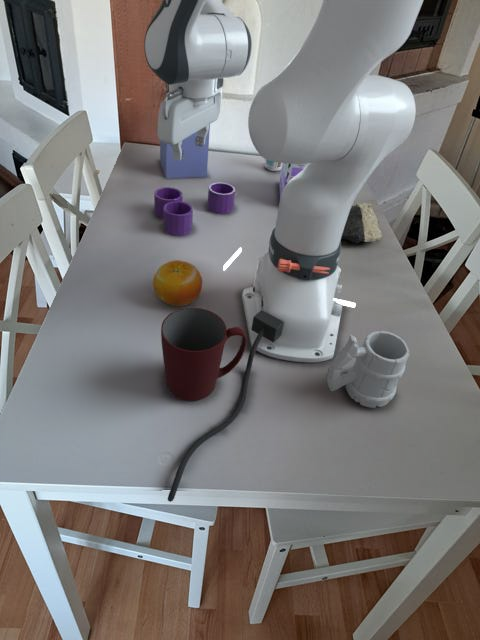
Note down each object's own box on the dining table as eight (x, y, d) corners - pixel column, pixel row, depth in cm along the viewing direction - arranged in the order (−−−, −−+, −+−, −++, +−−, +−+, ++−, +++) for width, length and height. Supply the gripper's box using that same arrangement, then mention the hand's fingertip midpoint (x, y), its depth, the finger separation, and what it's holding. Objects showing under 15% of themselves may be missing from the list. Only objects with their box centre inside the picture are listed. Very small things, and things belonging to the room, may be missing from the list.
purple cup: (179, 222, 106) (179, 201, 102) (152, 218, 106) (151, 198, 102) (184, 208, 110) (184, 189, 107) (157, 205, 110) (157, 185, 107)
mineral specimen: (393, 224, 103) (332, 222, 98) (380, 252, 107) (321, 251, 103) (368, 195, 111) (310, 192, 107) (357, 222, 116) (302, 220, 112)
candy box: (304, 210, 116) (318, 144, 105) (280, 208, 116) (292, 141, 105) (299, 185, 127) (312, 123, 116) (278, 183, 126) (288, 120, 115)
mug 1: (234, 357, 76) (242, 305, 69) (245, 400, 69) (255, 348, 62) (159, 362, 73) (158, 308, 66) (163, 408, 67) (163, 354, 60)
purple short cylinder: (232, 215, 110) (234, 196, 107) (205, 212, 110) (207, 192, 107) (234, 203, 115) (236, 184, 112) (209, 200, 115) (210, 180, 112)
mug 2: (401, 407, 72) (430, 352, 64) (329, 415, 69) (350, 358, 61) (380, 370, 77) (404, 315, 69) (312, 376, 74) (330, 320, 67)
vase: (207, 158, 133) (216, 14, 110) (217, 176, 125) (229, 24, 102) (157, 159, 130) (155, 9, 107) (164, 178, 121) (163, 20, 98)
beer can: (281, 166, 135) (288, 123, 127) (280, 173, 131) (288, 129, 123) (265, 164, 135) (271, 121, 127) (264, 170, 131) (270, 127, 124)
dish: (189, 237, 101) (190, 217, 98) (161, 233, 101) (160, 213, 98) (193, 223, 106) (194, 203, 103) (166, 219, 106) (166, 199, 103)
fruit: (137, 276, 83) (162, 250, 79) (173, 274, 90) (197, 250, 85) (156, 317, 81) (183, 293, 77) (191, 312, 88) (217, 290, 83)
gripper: (178, 98, 83) (177, 172, 92) (228, 75, 98) (223, 141, 107) (148, 90, 85) (150, 164, 94) (202, 69, 99) (198, 134, 108)
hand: (189, 152), depth 100 cm, fingers open, 8 cm apart
